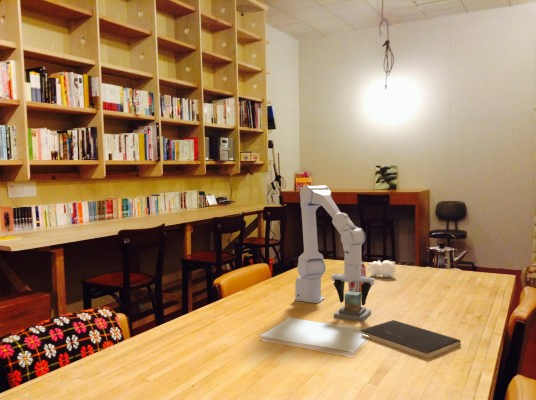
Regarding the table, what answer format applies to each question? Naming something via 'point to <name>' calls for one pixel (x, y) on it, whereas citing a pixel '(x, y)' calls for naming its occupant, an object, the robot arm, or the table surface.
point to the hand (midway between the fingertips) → (352, 303)
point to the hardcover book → (411, 338)
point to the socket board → (353, 314)
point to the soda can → (357, 286)
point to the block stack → (353, 301)
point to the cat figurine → (382, 268)
